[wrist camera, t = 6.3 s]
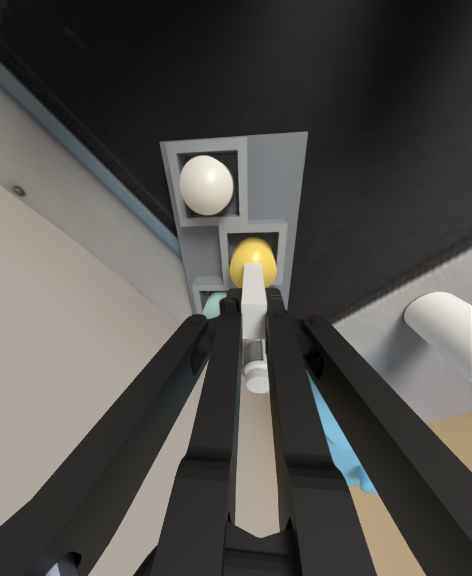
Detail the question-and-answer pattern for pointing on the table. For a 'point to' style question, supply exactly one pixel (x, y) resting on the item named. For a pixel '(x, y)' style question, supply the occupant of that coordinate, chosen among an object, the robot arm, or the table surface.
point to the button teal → (213, 304)
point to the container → (341, 447)
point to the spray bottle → (444, 327)
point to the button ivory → (206, 185)
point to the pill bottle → (256, 366)
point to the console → (238, 207)
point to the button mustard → (252, 260)
